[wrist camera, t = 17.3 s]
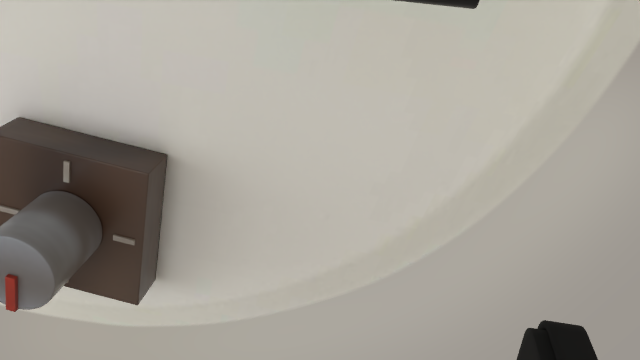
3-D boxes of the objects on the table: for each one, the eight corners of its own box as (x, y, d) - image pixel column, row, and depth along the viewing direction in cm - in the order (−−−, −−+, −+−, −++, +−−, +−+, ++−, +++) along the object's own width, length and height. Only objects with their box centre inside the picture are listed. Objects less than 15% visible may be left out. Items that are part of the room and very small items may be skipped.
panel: (167, 154, 37) (147, 174, 34) (155, 280, 41) (136, 307, 39) (18, 116, 37) (-15, 133, 34) (21, 245, 42) (-7, 269, 39)
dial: (30, 181, 36) (-35, 228, 30) (105, 201, 36) (52, 252, 30) (30, 246, 38) (-31, 300, 33) (101, 265, 38) (51, 322, 32)
